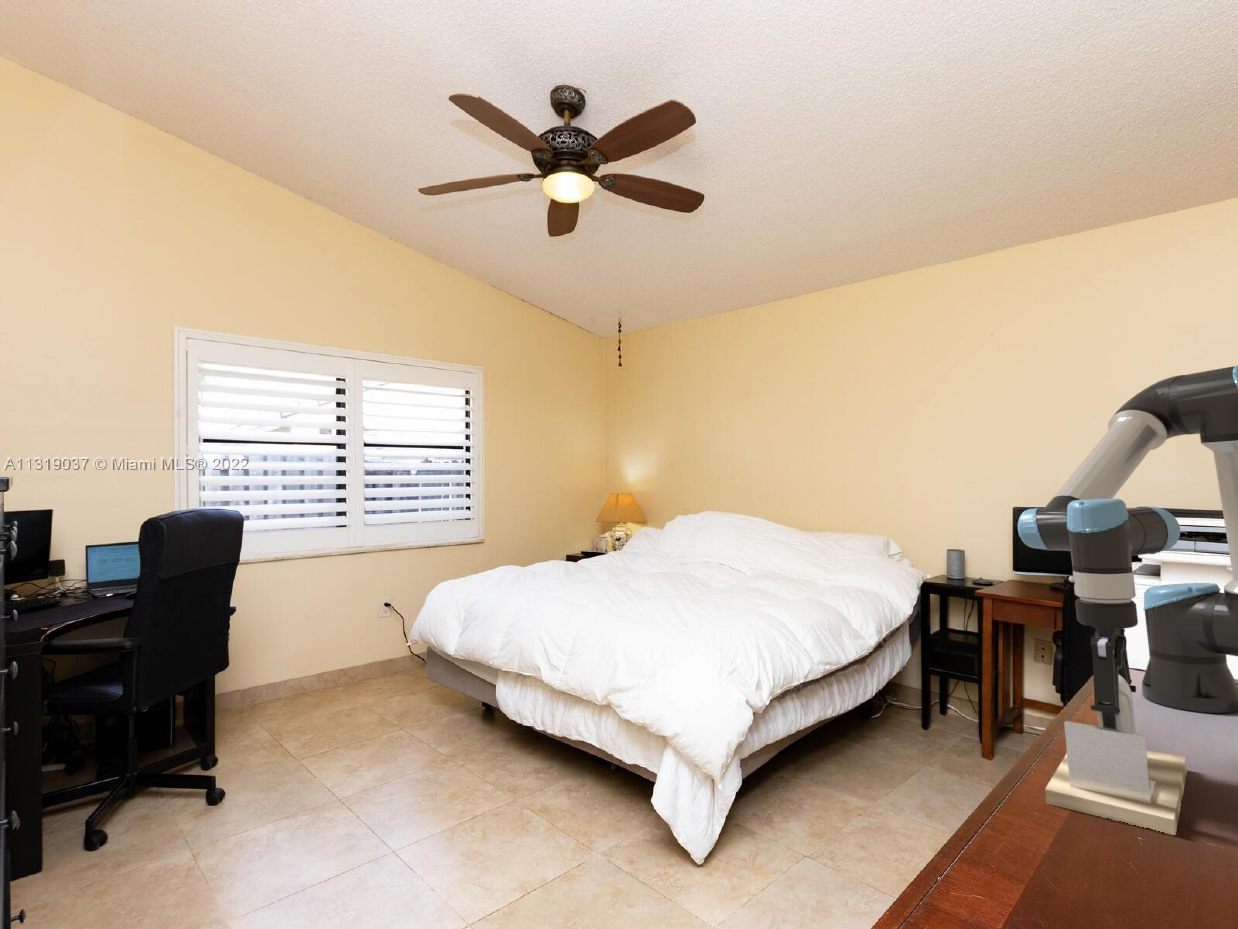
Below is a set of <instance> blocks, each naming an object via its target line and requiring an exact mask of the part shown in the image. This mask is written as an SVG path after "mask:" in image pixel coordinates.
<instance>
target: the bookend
mask: <svg viewBox="0 0 1238 929" xmlns="http://www.w3.org/2000/svg"><path fill="white" fill-rule="evenodd" d="M1063 723H1064V724H1063V726H1064V736H1065V744H1066V745H1065V748H1066V753H1067V759H1068V769H1069V780H1070V786H1071V787H1075V788H1080V789H1084V790H1088V791H1093V792H1097V793H1101V794H1106V795H1110V796H1114V797H1119V798H1123V799H1127V800H1132V801H1136V802H1140V803H1145V804H1149V805H1151V803H1152V799H1153V796H1154V792H1155V788H1156V781H1151V780H1150V779H1149V769H1148V760H1147V750H1148V749H1147V742H1146V734H1144V733H1137V732H1136V733H1133V732H1128V731H1122V730H1116V729H1110V728H1104V727H1099V725H1098V726H1097V725H1093V724H1092V725H1091V724H1087V723H1086V724H1085V723H1080V722H1075V721H1074V722H1073V721H1069V720H1065V721H1064V722H1063Z"/></svg>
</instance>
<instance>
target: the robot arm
mask: <svg viewBox="0 0 1238 929" xmlns="http://www.w3.org/2000/svg"><path fill="white" fill-rule="evenodd" d="M1186 435H1189V436H1190V435H1199V438H1200V439H1199V440H1200V444H1201V445H1202V446H1204V447H1205V448H1207V449H1208V450H1210V451H1211V452H1213V457H1214V463H1215V464H1214V465H1215V471H1216V477H1217V481H1218V482H1217V483H1218V490H1219V495H1220V502H1221V508H1222V513H1223V514H1222V515H1223V520H1224V527H1225V534H1226V539H1227V546H1228V552H1229V554H1228V555H1229V558H1230V566H1231V572H1232V578H1231V580H1230V581H1229V582H1227V583H1226V584H1225V585H1224V586H1223V591H1224V592H1220V591H1221V588H1220V587H1219V585H1218V584H1216V583H1212V582H1211V583H1210V582H1187V583H1170V584H1161V585H1160V584H1159V585H1154V586H1150V587H1148V588H1146V589H1145V591H1144V594H1143V608H1142V609H1143V611H1144V618H1145V626H1146V627H1145V628H1146V636H1147V643H1148V644H1147V646H1148V652H1149V653H1148V654H1149V655H1148V656H1149V657H1148V658H1149V659H1148V662H1147V666H1146V669H1145V672H1144V676H1143V678H1142V681H1141V692H1142V693H1141V694H1142V697H1144V698H1145V699H1146V698H1147V700H1148V701H1150V702H1153V703H1156V704H1158V705H1161V706H1166V707H1169V708H1174V709H1179V710H1184V711H1190V712H1200V713H1215V714H1222V713H1223V714H1225V713H1227V714H1228V713H1229V714H1230V713H1237V712H1238V683H1237V682H1236V680H1235V678H1234V676H1233V674H1232V671H1231V669H1230V668H1229V665H1228V660H1227V655H1228V656H1231V657H1232V656H1233V657H1238V365H1234V366H1227V367H1223V368H1218V369H1210V370H1205V371H1199V372H1194V373H1189V374H1179V375H1174V376H1170V377H1167V378H1164V379H1162V380H1159V381H1157V382H1155V383H1153V384H1150V386H1148V387H1146V388H1144V389H1143V390H1141V391H1140V392H1138V393H1137V394H1135V395H1134V396H1133V397H1131V398H1130V399H1129V400H1127V401H1126V402H1125V403H1123V405H1122V406H1121V407H1119V409H1118V410H1117V411H1116V412H1115V413H1114V414H1113V415H1112V416H1111V417H1110V419H1109V421H1108V424H1107V431H1106V433H1105V434H1104V436H1102V438H1101V439H1100V440H1099V441H1098V443H1097V444H1096V445H1095V446H1094V448H1092V450H1091V451H1089V453H1088V455H1087V456H1086V457H1085V458H1084V459H1083V461H1082V462H1081V463H1080V465H1078V466H1077V468H1076V469H1075V470H1074V471H1073V473H1072V474H1071V475H1070V476H1069V478H1068V479H1067V480H1066V481H1065V482H1064V484H1062V486H1061V487H1060V488H1059V490H1058V491H1057V492H1056V493H1055V495H1053V497H1052V498H1051V500H1050V501H1049V502H1048V503H1047V504H1046V506H1045V507H1043V508H1042V507H1035V508H1028V509H1027V510H1024V511H1023V512H1022V513H1021V514H1020V516H1019V518H1018V521H1017V531H1018V536H1019V538H1021V541H1022V542H1023V544H1024V545H1026V546H1027V547H1029V548H1030V549H1031V548H1032V549H1039V550H1045V551H1065V552H1070V557H1071V564H1072V565H1071V566H1072V567H1071V569H1072V575H1070V576H1069V577H1068V581H1069V582H1071V583H1074V585H1073V586H1074V587H1073V590H1074V595H1075V596H1077V597H1078V598H1076V600H1074V602H1075V611H1076V612H1075V613H1076V614H1075V615H1076V620H1077V622H1078V623H1080V624H1082V625H1084V626H1087V627H1088V626H1090V627H1092V628H1094V629H1095V631H1094V633H1093V636H1091V637H1090V647H1091V654H1092V673H1093V676H1092V677H1093V694H1094V704H1091V705H1090V709H1091V711H1092V712H1093V711H1094V712H1097V720H1098V719H1099V721H1098V727H1104V728H1110V729H1116V730H1122V731H1123V725H1122V715H1121V713H1120V709H1119V675H1120V676H1122V677H1123V678H1124V679H1125V680H1126V682H1127V683H1128V685H1129V687H1130V690H1131V693H1137V685H1133V684H1132V682H1133V681H1132V678H1131V671H1130V665H1129V659H1128V651H1127V641H1128V640H1127V636H1125V635H1126V634H1125V633H1126V629H1131V628H1134V627H1137V625H1138V624H1139V620H1138V619H1139V618H1138V611H1137V610H1138V609H1137V603H1136V602H1135V601H1134V600H1133V599H1134V598H1136V596H1137V594H1136V586H1135V584H1136V583H1135V575H1134V571H1133V565H1132V564H1133V563H1132V557H1133V556H1134V557H1135V556H1143V555H1156V554H1159V553H1161V552H1164V551H1167V550H1170V549H1171V548H1172V547H1174V546H1175V545H1176V544H1177V543H1178V541H1179V539H1180V536H1181V527H1180V523H1179V522H1178V520H1177V518H1176V517H1175V515H1173V514H1172V513H1171V512H1170V511H1168V510H1166V509H1163V508H1162V507H1156V506H1137V507H1127V505H1126V503H1125V501H1123V500H1122V499H1120V498H1114V497H1115V496H1116V495H1117V493H1118V492H1119V491H1120V490H1121V489H1122V487H1123V485H1125V483H1126V482H1127V480H1129V478H1130V477H1131V475H1132V474H1133V473H1134V472H1135V471H1136V469H1137V468H1138V467H1139V466H1140V465H1141V463H1142V462H1143V460H1144V459H1145V458H1146V456H1147V455H1148V454H1149V453H1150V451H1153V450H1156V449H1158V448H1160V447H1161V446H1162V445H1163V444H1164V443H1166V441H1167V440H1169V439H1171V438H1175V437H1179V436H1186ZM1118 674H1119V675H1118ZM1102 702H1108V703H1110V704H1107V703H1102Z"/></svg>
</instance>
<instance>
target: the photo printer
mask: <svg viewBox="0 0 1238 929" xmlns="http://www.w3.org/2000/svg"><path fill="white" fill-rule="evenodd" d="M1118 675H1119V674H1118ZM1102 703H1107V704H1110V703H1108V702H1102ZM1119 709H1120V713H1121V715H1122V725H1123V731H1128V732H1133V733H1137V730H1136V720H1135V710H1134V698H1133V692H1131V690H1130V687H1129V685H1128V683H1127V682H1126V680H1125V679H1124V678H1123V677H1122V676H1120V675H1119ZM1097 720H1098V722H1099V719H1098V718H1097Z"/></svg>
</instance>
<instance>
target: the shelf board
mask: <svg viewBox="0 0 1238 929" xmlns="http://www.w3.org/2000/svg"><path fill="white" fill-rule="evenodd" d="M1146 750H1147V760H1148V769H1149V779H1150V780H1151V781H1156V788H1155V792H1154V796H1153V799H1152V803H1151V805H1149V804H1145V803H1140V802H1136V801H1132V800H1127V799H1123V798H1119V797H1114V796H1110V795H1106V794H1101V793H1097V792H1093V791H1088V790H1084V789H1080V788H1075V787H1071V786H1070V780H1069V769H1068V759H1067V752H1066V753H1065V755H1064V757H1063V758H1062V760H1061V762H1060V764H1058V765H1059V766H1058V767H1057V768H1056V770H1055V772H1054V773H1053V775H1052V777H1051V779H1050V780H1049V782H1048V783H1047V785H1046V787H1045V788H1044V792H1045V802H1046V803H1045V804H1047V805H1051V806H1056V807H1058V808H1063V809H1068V810H1070V811H1071V810H1072V811H1075V812H1079V813H1082V814H1083V813H1084V814H1088V815H1092V816H1095V817H1099V816H1100V817H1099V818H1103V819H1107V818H1110V819H1109V820H1111V819H1112V820H1111V821H1115V822H1119V821H1121V822H1120V823H1122V822H1125V823H1124V824H1126V823H1128V824H1127V825H1132V826H1134V825H1136V826H1135V827H1138V826H1139V828H1142V827H1144V828H1143V829H1146V828H1150V829H1153V830H1152V831H1154V830H1156V831H1155V832H1158V831H1160V833H1162V832H1164V834H1167V835H1170V836H1174V835H1177V830H1178V824H1179V819H1180V814H1179V813H1180V812H1181V808H1180V807H1182V802H1181V801H1183V797H1182V796H1183V795H1184V790H1185V785H1186V780H1187V774H1188V764H1187V757H1186V756H1184V755H1183V756H1182V755H1176V754H1172V753H1166V752H1161V751H1156V750H1155V751H1154V750H1151V749H1146ZM1150 829H1149V830H1150Z"/></svg>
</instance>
